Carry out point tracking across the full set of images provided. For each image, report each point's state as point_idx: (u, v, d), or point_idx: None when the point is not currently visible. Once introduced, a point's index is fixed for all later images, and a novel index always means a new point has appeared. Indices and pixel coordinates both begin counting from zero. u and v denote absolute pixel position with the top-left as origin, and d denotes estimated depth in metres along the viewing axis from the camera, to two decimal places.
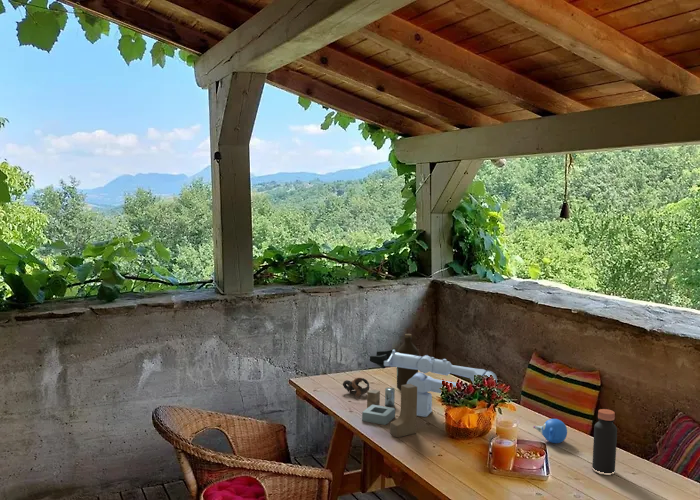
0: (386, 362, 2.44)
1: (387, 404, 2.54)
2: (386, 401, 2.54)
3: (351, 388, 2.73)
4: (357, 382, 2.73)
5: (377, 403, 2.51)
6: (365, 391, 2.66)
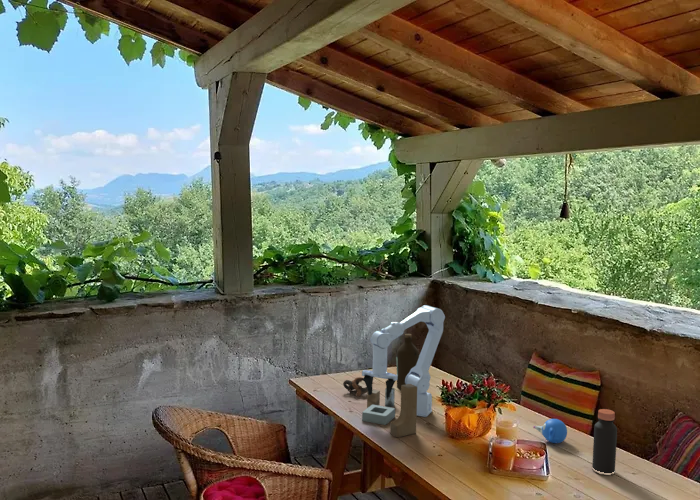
0: (396, 377, 2.35)
1: (387, 404, 2.54)
2: (386, 401, 2.54)
3: (351, 388, 2.73)
4: (357, 382, 2.74)
5: (377, 403, 2.51)
6: (365, 391, 2.67)
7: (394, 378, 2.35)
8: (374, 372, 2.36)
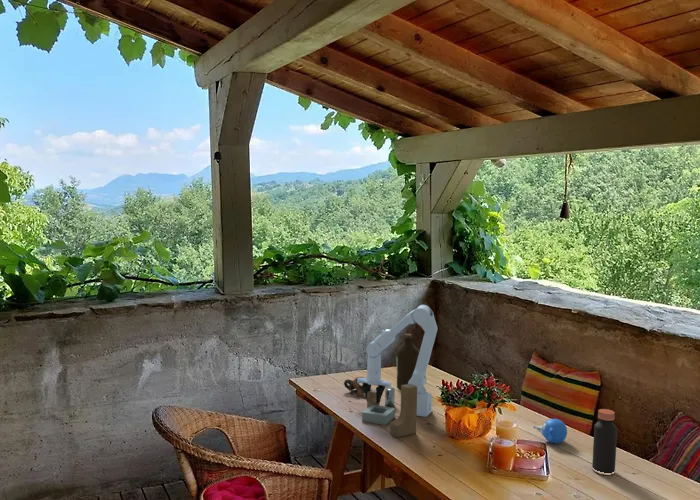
0: (389, 385, 2.48)
1: (387, 404, 2.54)
2: (386, 401, 2.54)
3: (352, 387, 2.74)
4: None
5: (377, 403, 2.51)
6: None
7: (387, 385, 2.48)
8: (368, 380, 2.50)
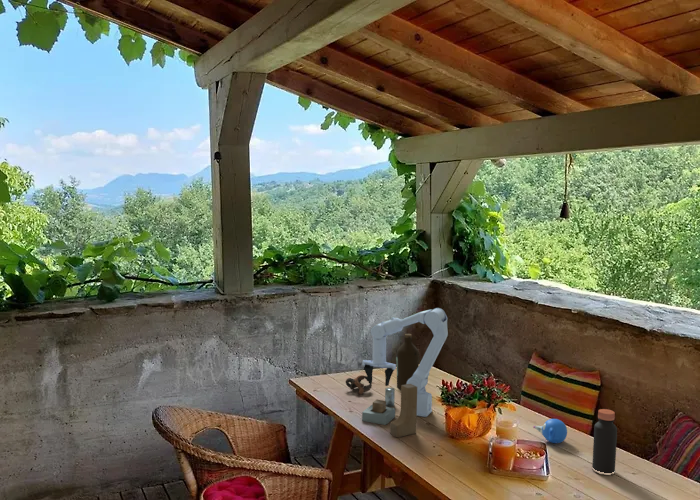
0: (394, 367, 2.50)
1: (387, 404, 2.54)
2: (386, 401, 2.54)
3: (353, 386, 2.76)
4: (359, 380, 2.77)
5: None
6: (368, 388, 2.70)
7: (393, 367, 2.50)
8: (374, 362, 2.51)
